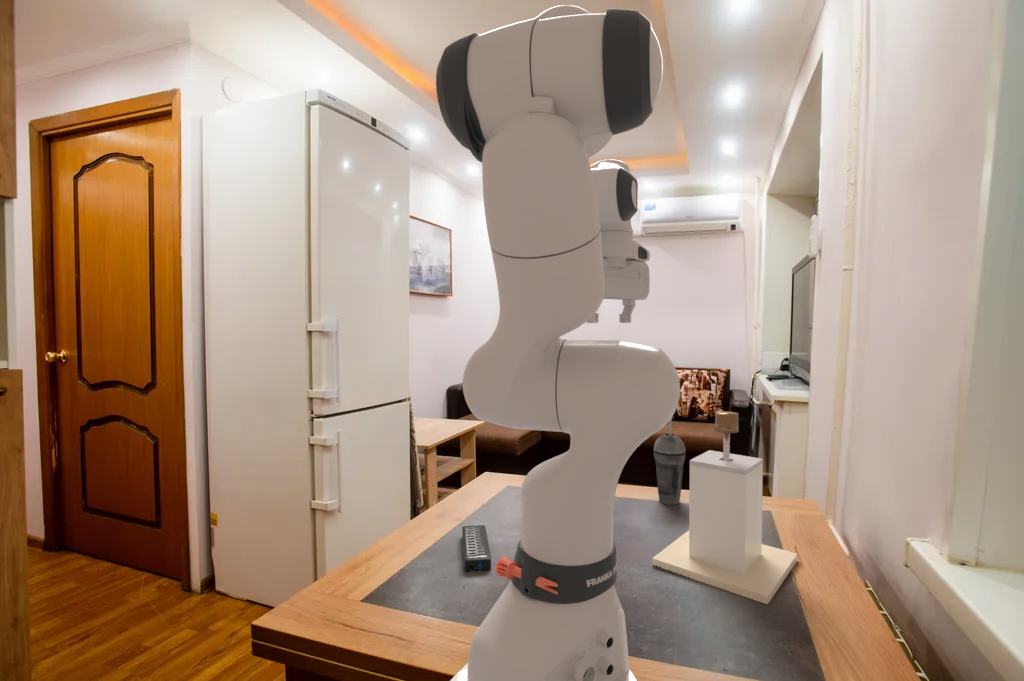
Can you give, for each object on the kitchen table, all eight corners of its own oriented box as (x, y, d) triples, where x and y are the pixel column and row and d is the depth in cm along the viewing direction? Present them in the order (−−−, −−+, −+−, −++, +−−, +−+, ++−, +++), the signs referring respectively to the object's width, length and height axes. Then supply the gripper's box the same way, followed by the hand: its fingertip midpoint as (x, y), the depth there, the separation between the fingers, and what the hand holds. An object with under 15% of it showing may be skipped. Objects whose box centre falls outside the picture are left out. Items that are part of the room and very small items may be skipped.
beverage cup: (681, 496, 118) (682, 412, 118) (689, 507, 111) (690, 418, 111) (650, 495, 119) (650, 411, 119) (656, 506, 112) (656, 417, 111)
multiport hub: (485, 536, 98) (485, 524, 98) (491, 572, 83) (491, 559, 83) (462, 537, 97) (462, 525, 97) (464, 574, 83) (464, 560, 83)
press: (767, 604, 73) (769, 483, 72) (652, 565, 85) (652, 461, 84) (797, 560, 86) (798, 458, 86) (694, 531, 98) (694, 441, 98)
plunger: (740, 532, 80) (741, 418, 80) (697, 520, 85) (698, 413, 84) (754, 519, 86) (755, 412, 85) (712, 509, 90) (713, 408, 90)
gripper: (583, 243, 87) (583, 323, 87) (655, 252, 99) (655, 322, 100) (558, 247, 91) (558, 323, 92) (629, 256, 104) (629, 322, 105)
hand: (609, 323), depth 96 cm, fingers open, 8 cm apart
